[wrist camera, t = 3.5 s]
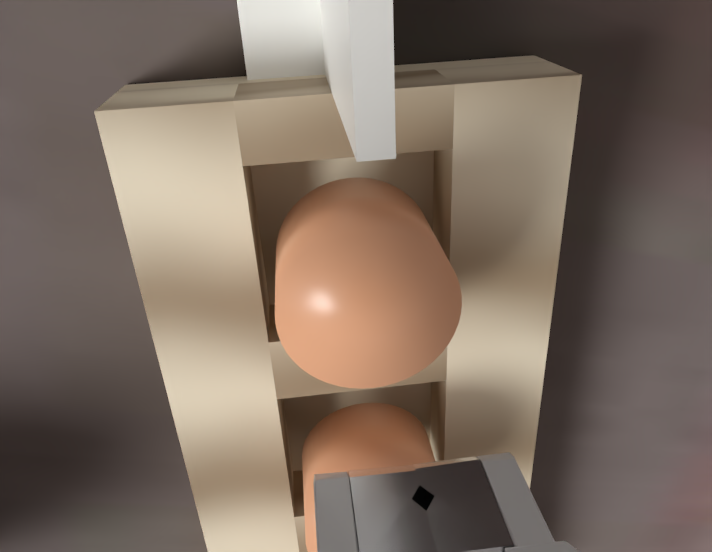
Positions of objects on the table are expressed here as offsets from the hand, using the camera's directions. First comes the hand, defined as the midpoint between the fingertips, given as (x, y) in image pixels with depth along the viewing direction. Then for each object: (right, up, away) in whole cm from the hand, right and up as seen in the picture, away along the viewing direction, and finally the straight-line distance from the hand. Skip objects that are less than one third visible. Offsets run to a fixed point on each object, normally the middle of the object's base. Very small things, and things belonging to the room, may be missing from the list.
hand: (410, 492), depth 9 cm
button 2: (-1, +4, +6) cm, 7 cm away
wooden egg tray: (-1, -1, +12) cm, 12 cm away
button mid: (-1, -2, +9) cm, 10 cm away
